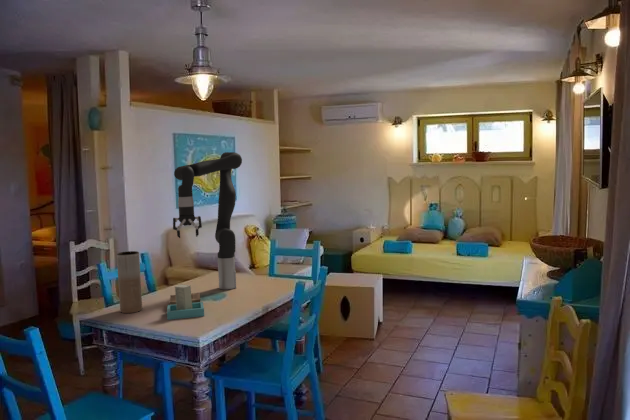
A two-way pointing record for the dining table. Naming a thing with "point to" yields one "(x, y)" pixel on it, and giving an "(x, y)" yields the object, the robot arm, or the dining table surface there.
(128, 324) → the dining table surface
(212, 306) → the dining table surface
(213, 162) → the robot arm
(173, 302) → the wooden square frame
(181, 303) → the skincare box
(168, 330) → the dining table surface
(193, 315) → the tray
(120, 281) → the vase
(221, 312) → the dining table surface
